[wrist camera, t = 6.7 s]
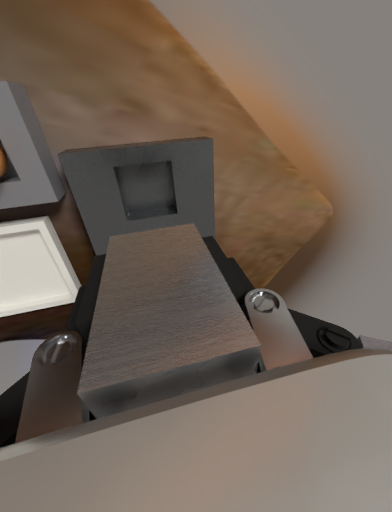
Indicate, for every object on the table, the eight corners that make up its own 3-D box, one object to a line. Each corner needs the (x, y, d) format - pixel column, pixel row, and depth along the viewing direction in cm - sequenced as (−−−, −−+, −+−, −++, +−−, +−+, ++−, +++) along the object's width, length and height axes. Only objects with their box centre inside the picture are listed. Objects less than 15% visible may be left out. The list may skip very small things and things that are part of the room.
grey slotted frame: (66, 149, 21) (57, 154, 19) (204, 136, 23) (212, 138, 21) (115, 288, 31) (114, 302, 29) (209, 269, 33) (215, 281, 31)
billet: (110, 236, 10) (75, 399, 4) (193, 222, 11) (263, 348, 5) (130, 300, 12) (126, 463, 7) (198, 286, 13) (249, 423, 7)
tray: (-75, 232, 22) (-87, 239, 21) (48, 215, 24) (43, 220, 23) (-9, 311, 28) (-15, 320, 27) (84, 293, 30) (82, 300, 29)
